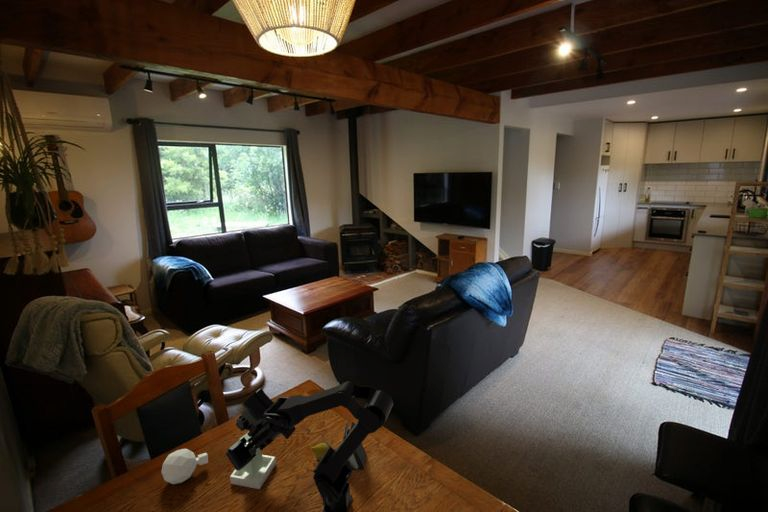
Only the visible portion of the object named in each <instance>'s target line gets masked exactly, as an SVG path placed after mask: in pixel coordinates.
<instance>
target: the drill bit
mask: <svg viewBox="0 0 768 512" xmlns="http://www.w3.org/2000/svg"><path fill="white" fill-rule="evenodd" d="M330 446H331V444H330V443H329V442H327V441H320V442H319V443H318V444H316V445H314V446H312V447H309V449H310V450H311V452H312V453H313V454H314V455H315V458H316V460H318V461H320V459H321V458H322V456H323V455H324V453H326V452H327V450H328V449H329V447H330Z"/></svg>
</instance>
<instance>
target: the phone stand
mask: <svg viewBox="0 0 768 512" xmlns="http://www.w3.org/2000/svg"><path fill="white" fill-rule="evenodd" d="M355 424H356V423H355V422H353V421H352V422H351V425H350V421H348V422H347V423H346V424H345V428H344V433H343V438H342V441H343V440H344V439H345V437H346V436H347V435H348V433H349V432H350V431H351V430H352V428H353V427H354V426H355ZM349 426H350V429H349ZM362 443H363V442H362ZM362 443H361V444H360V446H359V447H358V448H357V449H356V451H355V452H354V453H353V454H352V456H351V457H350V458H349V459H348V461H347V462H346V465H347V466H348V467H349V468H350V469H351V470H352V471H353V470H355V471H358V470H359V471H360V470H362V471H364V470H365V467H366V461H367V460H366V458H367V451H366V449H365V447H364V446H363V444H362Z"/></svg>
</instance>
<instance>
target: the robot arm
mask: <svg viewBox="0 0 768 512" xmlns="http://www.w3.org/2000/svg"><path fill="white" fill-rule="evenodd" d="M355 398H356V399H355ZM357 399H368V401H367V402H366V404H365V406H362V405H360V403H359V402H357ZM393 405H394V401H393V398H392V396H391V395H390V394H389V393H388V392H386V391H384V390H381V389H379V388H376V387H374V386H372V385H363V384H357V383H354V382H352V381H345V382H343V383H341V384H339V385H336V386H334V387H331V388H327V389H325V390H324V389H323V390H322V391H319V392H316V393H314V394H310V395H303V394H296V395H290V396H278V397H277V399H276V400H275V401H273V400H272V399H271V398H270V397H269V396H268V395H267V394H266V392H265V391H264V390H263V389H262V388H259V389H257V390H256V391H254V392H253V393H252V395H251V396H249V397H248V398H247V399H246V400H245V401H244V402H243V403H242V404H241V406H242V407H243V408H244V411H242V412H241V414H240V415H238V417H237V418H236V422H235V426H236V427H237V428H238V429H239V430H240V431H241V432H244V431H247V432H248V433H247V432H246V433H247V434H248V435H249V437H251V438H249V439H248V440H246V439H245V437H244V438H242V439H241V440H239V439H238V441H236V442H235V443H234V444H232V445H231V446H230V447H229V448H228V449H227V450H225V456H226V457H227V458H228V460H229V461H230V463H231V465H232V466H233V467H234V470H235V469H236V470H238V471H239V470H241V469H242V468H243V467H244V466H245V465H247V464H248V463H249V462H250V461H251V460H252V459H253V458H254V457H255V456H256V454H255V453H256V449H257V448H260V450H262V451H263V450H264V449H266V448H267V447H268V446H269V445H270V444H271V443H272V442H273V441H275V440H276V439H277V438H279V437H280V436H281V435H282V436H283V437H284V438H285V440H288V439H289V438H290V437H291V436H292V435H293V434H294V433H295V432H296V426H297V425H298V424H300V423H301V422H302V421H303V420H305V419H307V418H308V417H311V416H312V415H316V414H319V413H323V412H325V411H329V410H332V409H336V408H339V407H343V408H346V409H347V410H348V412H349V413H350V414H351V415H352V417H353V418H354V419H356V420H357V422H356V423H355V426H354V427H353V428H352V430H351V429H350V430H351V431H350V432H349V433H348V435H347V436H346V437H345V439H344V440H343V439H342V441H341V443H340V444H339V445H338V446H337V448H333V447H332V446H331V445H330V447H329V449H328V450H327V452H326V453H324V455H323V456H322V458H321V459H320V460H318V463H317V464H316V466H315V468H314V470H313V471H312V472H313V473H314V474H313V476H312V478H313V480H314V482H315V486H316V488H317V490H318V492H319V494H320V496H321V499H322V500H321V501H322V505H323V509H322V510H321V511H322V512H349V509H350V506H351V503H352V501H353V495H352V494H351V491H350V490H351V488H350V483H349V480H350V478H351V476H352V473H353V470H351V469H350V468H349V467H348V466H347V465H346V462H347V461H348V459H349V458H350V457H351V456H352V454H353V453H354V452H355V451H356V449H357V448H358V447H359V446H360V444H361V443H363V441H365V439H366V438H367V437H368V436H369V435H370V434H373V433H376V432H377V431H378V430H380V429H381V428H382V427H383V426H384V425H385V423H386V421H387V419H388V417H389V415H390V412H391V410H392V408H393ZM247 441H248V442H247ZM251 441H252V443H251ZM254 445H255V447H253V446H254Z"/></svg>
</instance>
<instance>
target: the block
mask: <svg viewBox="0 0 768 512" xmlns="http://www.w3.org/2000/svg"><path fill="white" fill-rule="evenodd" d="M248 432H249V431H247V432H246V433H245V434H243V435H242V436H241V437H239V439H238V441H239V440H241V439H242V438H244V437H245V439H246V440H248V439H249V438H251V437H249V435H248V434H247V433H248ZM247 442H248V441H247ZM251 443H252V441H251ZM253 447H255V445H254V446H253ZM255 454H256V456H255V457H254V458H253V459H252V460H251V461H250V462H249V463H248V464H247V465H245V466H244V467H243V470H244V471H245V472H247V473H249V474H251V475H252V476H254V475H255V474H256V473H257V472H258V471H259V470H260V469H261V468H262V467H263V466H264V465H263V457H262V455H263V450H260V448H257V449H256V453H255Z"/></svg>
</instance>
